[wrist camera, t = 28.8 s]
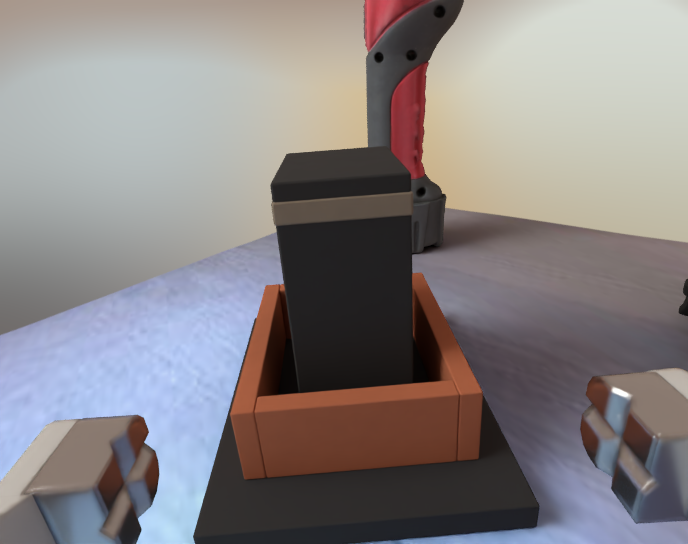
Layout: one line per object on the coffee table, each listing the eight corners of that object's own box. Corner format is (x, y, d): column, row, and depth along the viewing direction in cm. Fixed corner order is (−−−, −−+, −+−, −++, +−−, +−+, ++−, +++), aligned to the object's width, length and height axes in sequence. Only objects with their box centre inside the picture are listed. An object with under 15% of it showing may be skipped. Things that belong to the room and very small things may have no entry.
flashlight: (480, 247, 37) (498, -92, 28) (400, 268, 35) (392, -101, 25) (426, 224, 44) (427, -57, 35) (355, 240, 41) (336, -62, 32)
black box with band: (394, 341, 23) (388, 145, 19) (415, 424, 18) (413, 172, 14) (308, 348, 23) (285, 153, 19) (302, 433, 18) (267, 183, 14)
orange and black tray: (436, 317, 27) (437, 256, 26) (537, 527, 14) (551, 432, 13) (257, 331, 27) (246, 272, 26) (198, 558, 14) (170, 466, 13)
